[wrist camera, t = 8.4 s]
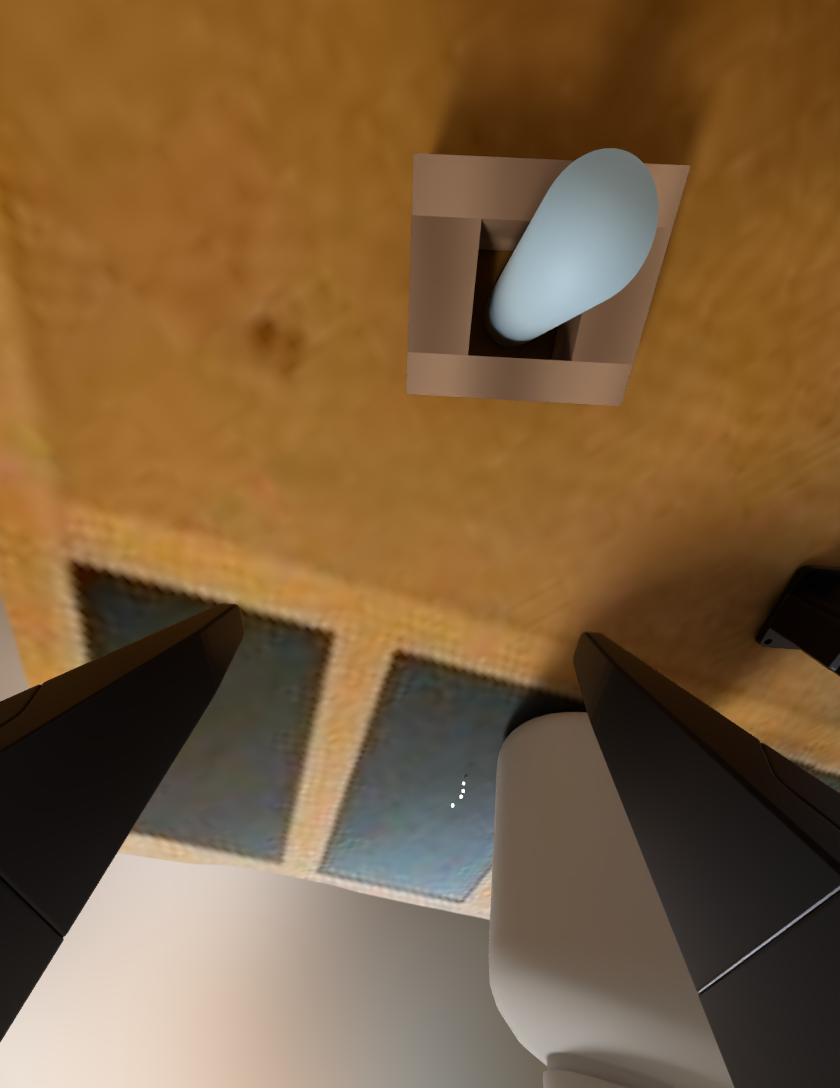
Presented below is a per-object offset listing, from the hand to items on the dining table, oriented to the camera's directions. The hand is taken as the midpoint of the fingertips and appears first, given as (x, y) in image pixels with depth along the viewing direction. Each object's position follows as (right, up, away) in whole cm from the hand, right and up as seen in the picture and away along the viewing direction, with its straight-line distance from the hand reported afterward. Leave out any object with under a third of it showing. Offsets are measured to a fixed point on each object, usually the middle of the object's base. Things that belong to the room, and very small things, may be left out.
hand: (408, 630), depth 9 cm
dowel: (+5, +14, +8) cm, 17 cm away
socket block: (+5, +14, +8) cm, 17 cm away
